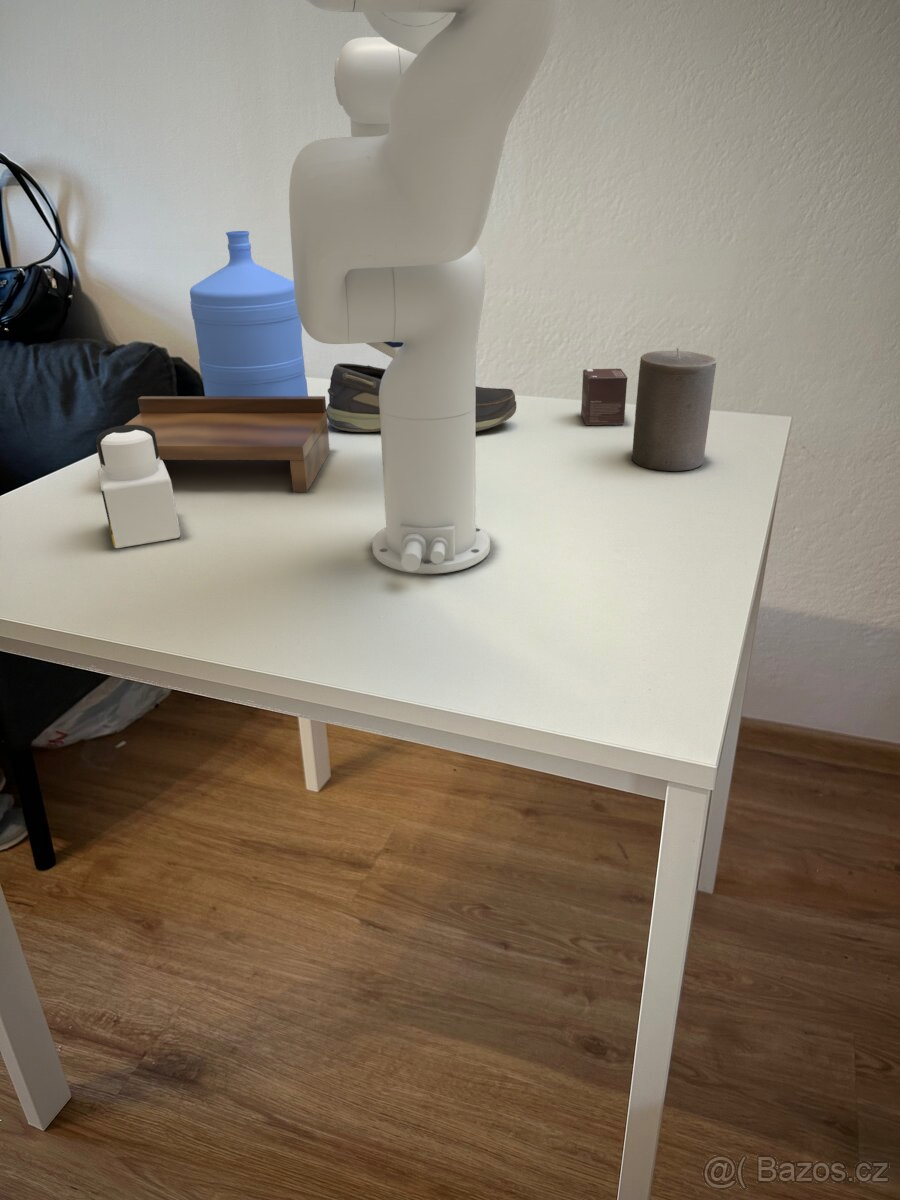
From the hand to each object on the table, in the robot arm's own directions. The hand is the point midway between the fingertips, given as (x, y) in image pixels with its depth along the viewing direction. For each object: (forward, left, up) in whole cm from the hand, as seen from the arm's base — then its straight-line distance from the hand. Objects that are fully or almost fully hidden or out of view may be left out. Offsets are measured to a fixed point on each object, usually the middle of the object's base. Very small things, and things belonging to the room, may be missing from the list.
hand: (393, 336), depth 106 cm
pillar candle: (+5, -36, -18) cm, 41 cm away
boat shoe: (+20, -1, -18) cm, 27 cm away
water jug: (+20, +24, -18) cm, 36 cm away
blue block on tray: (0, 0, -1) cm, 1 cm away
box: (+24, -29, -18) cm, 42 cm away
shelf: (0, +24, -18) cm, 30 cm away
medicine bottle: (-21, +27, -18) cm, 38 cm away
